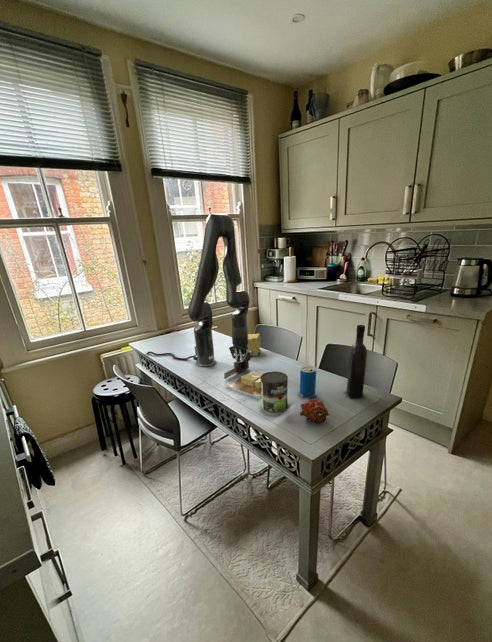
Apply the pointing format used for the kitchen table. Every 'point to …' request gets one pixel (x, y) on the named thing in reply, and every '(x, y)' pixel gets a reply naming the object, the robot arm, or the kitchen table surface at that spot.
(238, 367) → the knife
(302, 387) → the beverage can
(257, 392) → the board
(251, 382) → the butter
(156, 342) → the kitchen table surface
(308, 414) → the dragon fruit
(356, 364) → the wine bottle
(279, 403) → the coffee can
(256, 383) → the butter slice
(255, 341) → the cheese
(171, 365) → the kitchen table surface
